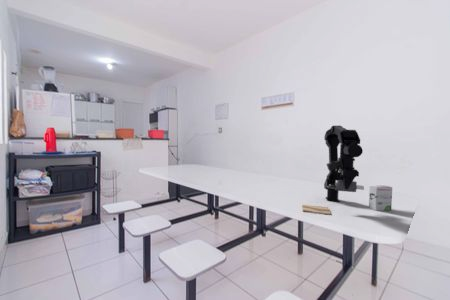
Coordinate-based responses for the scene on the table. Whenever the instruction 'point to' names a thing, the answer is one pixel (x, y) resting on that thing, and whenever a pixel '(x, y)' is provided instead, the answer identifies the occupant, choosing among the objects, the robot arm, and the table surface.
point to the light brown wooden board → (316, 209)
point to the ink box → (380, 198)
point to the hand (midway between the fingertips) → (345, 188)
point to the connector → (341, 187)
